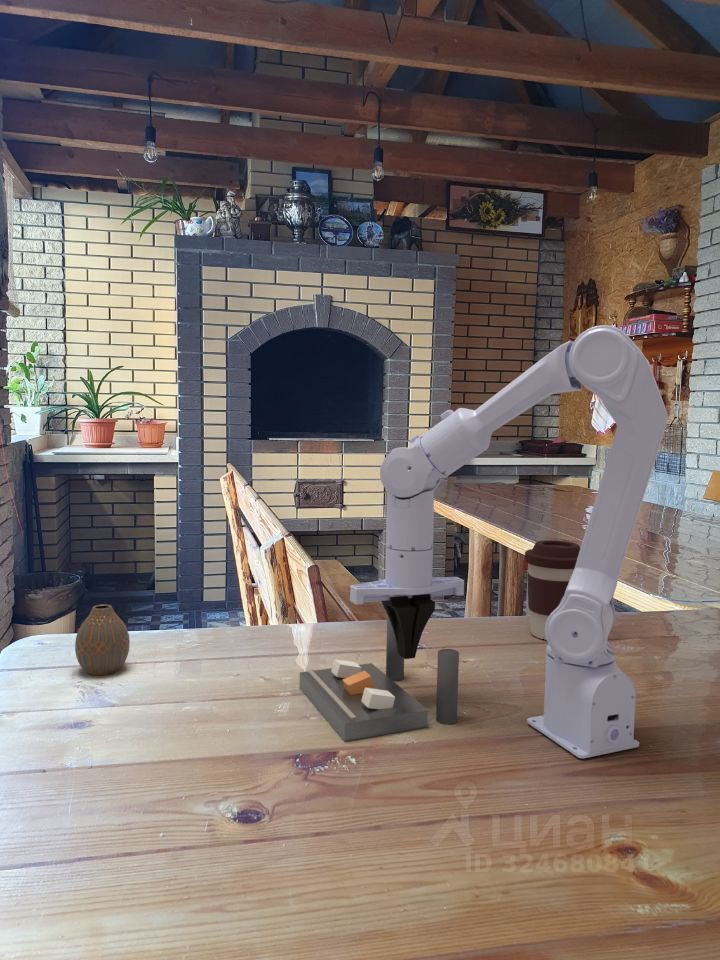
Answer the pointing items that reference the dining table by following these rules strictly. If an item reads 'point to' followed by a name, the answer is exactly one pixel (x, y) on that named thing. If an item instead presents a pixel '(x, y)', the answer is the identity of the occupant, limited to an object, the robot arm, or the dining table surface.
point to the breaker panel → (361, 705)
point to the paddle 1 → (345, 668)
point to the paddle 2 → (377, 698)
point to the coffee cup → (548, 579)
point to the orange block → (358, 683)
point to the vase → (102, 641)
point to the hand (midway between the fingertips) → (406, 656)
